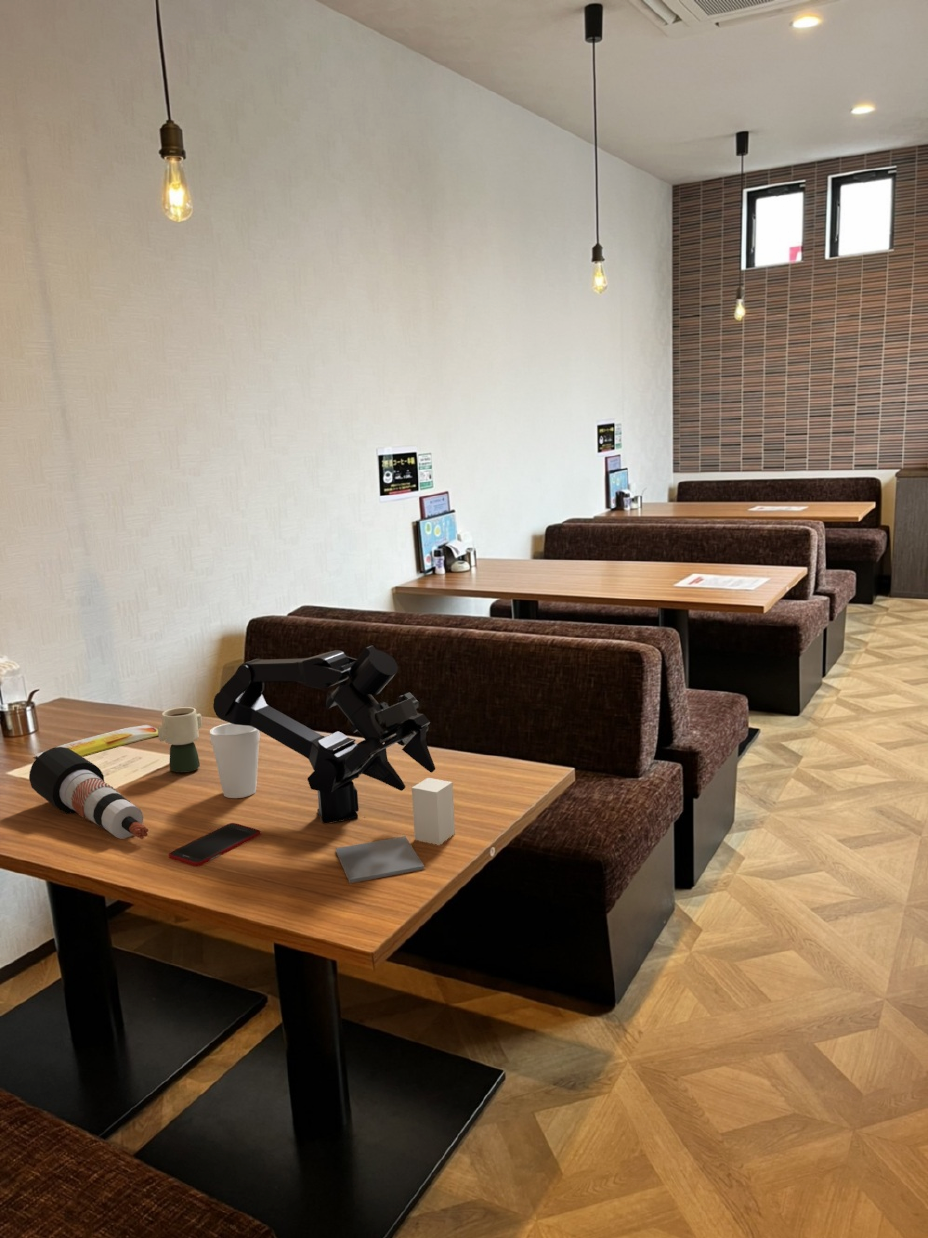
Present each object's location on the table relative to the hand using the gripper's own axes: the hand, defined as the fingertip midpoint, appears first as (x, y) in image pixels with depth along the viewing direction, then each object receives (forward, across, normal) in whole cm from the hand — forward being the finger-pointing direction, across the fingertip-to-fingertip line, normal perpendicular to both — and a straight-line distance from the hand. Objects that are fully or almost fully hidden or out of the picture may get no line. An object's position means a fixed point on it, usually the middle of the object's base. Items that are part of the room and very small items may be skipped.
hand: (419, 779), depth 160 cm
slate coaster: (+6, -12, +8) cm, 15 cm away
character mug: (-38, +5, +52) cm, 65 cm away
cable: (-34, -21, +48) cm, 63 cm away
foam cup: (-24, 0, +38) cm, 45 cm away
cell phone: (-14, -19, +29) cm, 37 cm away
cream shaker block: (+9, 0, +5) cm, 10 cm away
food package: (-60, +8, +75) cm, 96 cm away
